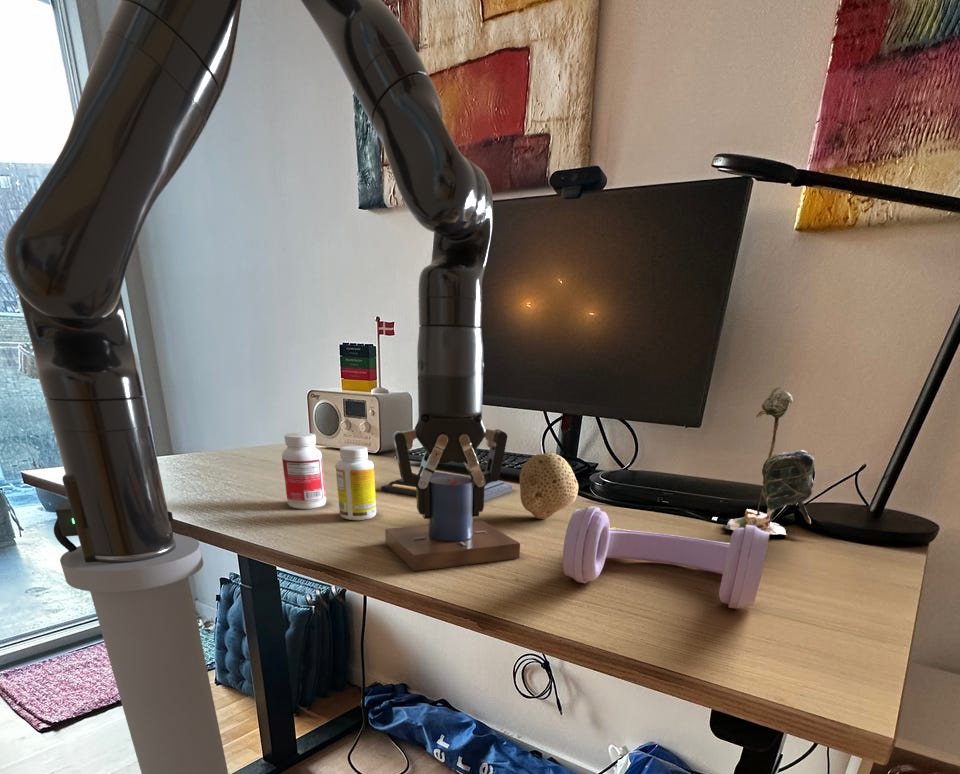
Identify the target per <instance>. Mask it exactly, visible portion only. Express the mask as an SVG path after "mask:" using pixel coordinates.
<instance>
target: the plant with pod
mask: <svg viewBox="0 0 960 774" xmlns="http://www.w3.org/2000/svg"><path fill="white" fill-rule="evenodd" d="M793 401H794V397H793V395H792V394H790V392H788V391H786V390H785V389H783V388H782V387H780V386H777V387H774V388H773V389H772V390H771V392H770V393H769V394H768V396H767V397H766V398H765V400H764V401H763V402H762V404H761V410H760V411H759V412H758V413H757V414H756V418H758V419H759V418H761V417H762V415H766V416H772V417H773V418H774V421H773V422H774V423H773V431H772V434H773V435H772V439H771V445H770V449H769V453H768V457H767V459H766V460H765V461H764V463H763V466H762V469H761V475H762V477H763V478H762V488H761V492H760V496H759V501H758V506H757V510H754V509H748V508H747V509H746V510H745V511H744V516H743V517H742V516H741V517H739V518H728V521H727V523H726V524H727V525H725V527H724V528H725V529H727V530H732V531H735V530H736V529H738V528H746V525H752V526H756V527H757V528H758V529H760V530H762V531H764V532H767V533H769V536H776V535H779V536H787V533H786V531H787V530H786V529H785V527H783V526H782V525H781V524H779V523H777V522H772V519H773V516H774V514H775V512H776V510H778V509H781V508H784V507H786V506H788V505H790V506H795V505H796V504H797V505H798V508H799V510H800V512H801V515H802V516H803V517H804V520H805V521H806V523H807V524H808V525H811V524H812V519H811V518H810V516H809V513H808V511H807V508H806V506H805V504H804V502H805V501H807V500H809V499H810V498H811V496H812V495H813V487H814V480H813V474H814V471H815V458H814V455H815V453H810V452H808V451H806V450H803V449H799V450H797V449H796V450H791V451H785V452H780V453H778V454H773V452H774V448H775V444H776V436H777V431H778V427H779V422H780V419H781V418H782V417H784V416H785V415H786V413H787V412H788V410H789V408H790V406H791V405H792V404H793ZM763 499H764V501H765V503H766V508H767V510H766V513H764V512H761V511H759V510H760V507H761V505H762V501H763Z"/></svg>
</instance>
